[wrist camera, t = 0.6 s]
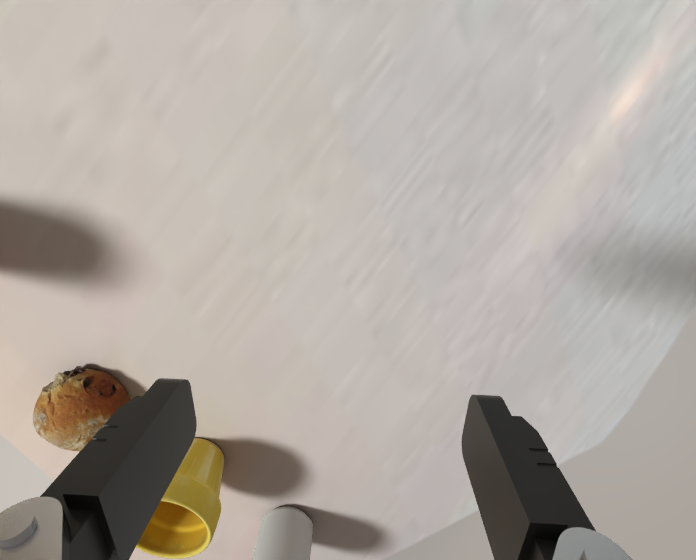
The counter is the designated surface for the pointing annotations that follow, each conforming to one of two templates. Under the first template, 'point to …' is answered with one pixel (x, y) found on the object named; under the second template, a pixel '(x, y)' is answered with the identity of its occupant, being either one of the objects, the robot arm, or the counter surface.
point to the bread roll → (77, 407)
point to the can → (284, 535)
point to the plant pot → (187, 506)
